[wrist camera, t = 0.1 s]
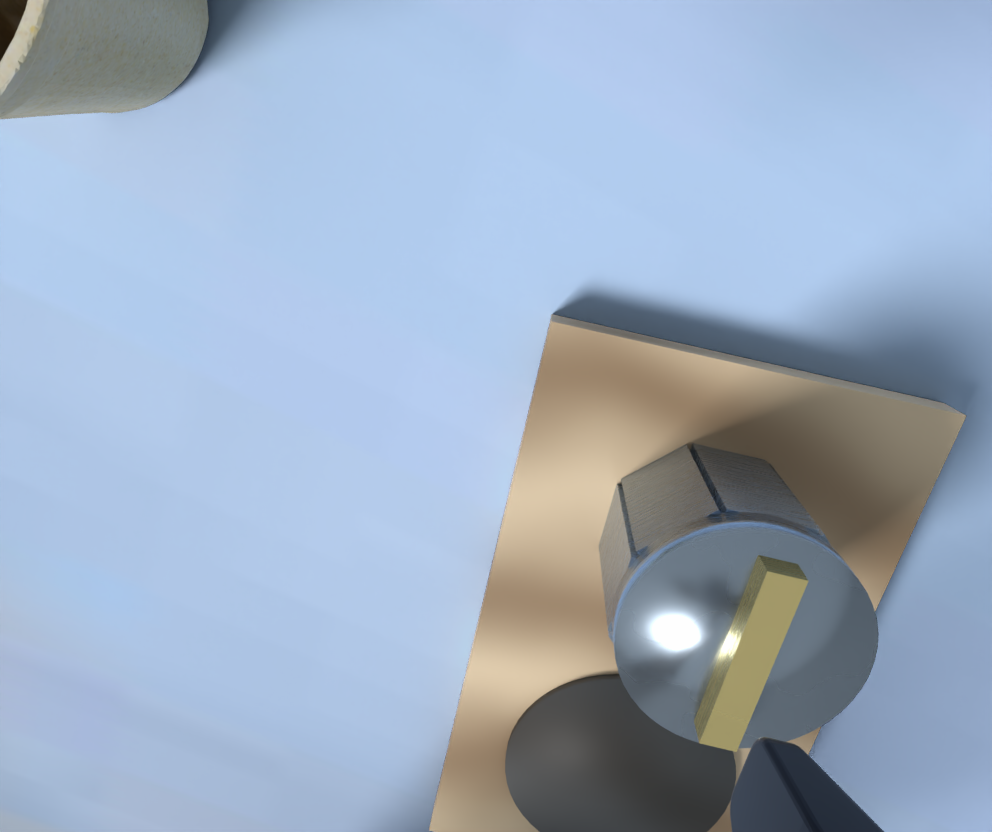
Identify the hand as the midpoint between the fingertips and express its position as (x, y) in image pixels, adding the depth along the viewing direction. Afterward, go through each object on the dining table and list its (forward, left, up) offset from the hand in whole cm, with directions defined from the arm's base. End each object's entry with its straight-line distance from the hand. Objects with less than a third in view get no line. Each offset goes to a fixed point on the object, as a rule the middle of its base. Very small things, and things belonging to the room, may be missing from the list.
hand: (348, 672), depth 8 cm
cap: (-4, -8, -13) cm, 16 cm away
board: (-8, -8, -14) cm, 18 cm away
